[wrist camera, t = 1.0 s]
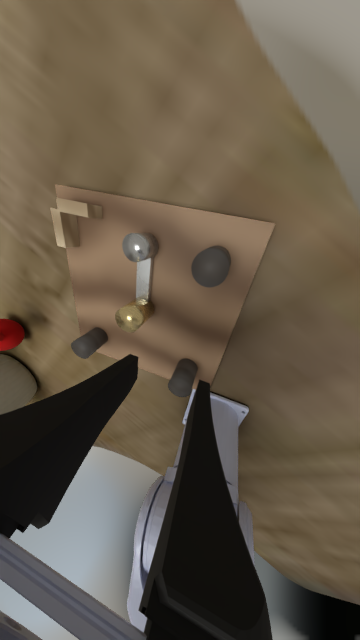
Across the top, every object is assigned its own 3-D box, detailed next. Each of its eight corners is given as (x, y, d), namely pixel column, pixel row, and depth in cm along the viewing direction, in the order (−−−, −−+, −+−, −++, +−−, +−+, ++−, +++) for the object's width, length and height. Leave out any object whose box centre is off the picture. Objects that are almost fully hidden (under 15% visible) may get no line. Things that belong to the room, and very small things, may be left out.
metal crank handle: (135, 230, 15) (111, 230, 12) (161, 236, 15) (143, 237, 12) (133, 314, 20) (115, 327, 17) (153, 320, 19) (138, 335, 16)
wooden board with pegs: (209, 385, 24) (202, 418, 19) (89, 341, 27) (62, 361, 23) (271, 224, 13) (286, 220, 9) (68, 187, 17) (12, 173, 13)
